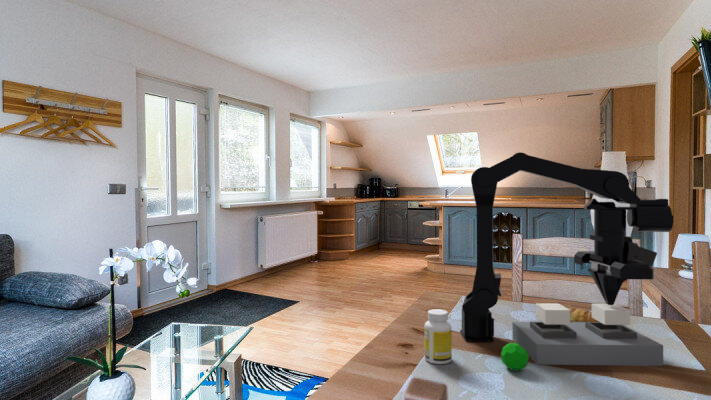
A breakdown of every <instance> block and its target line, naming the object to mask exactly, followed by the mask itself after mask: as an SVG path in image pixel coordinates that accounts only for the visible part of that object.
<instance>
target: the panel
mask: <svg viewBox="0 0 711 400" xmlns="http://www.w3.org/2000/svg"><path fill="white" fill-rule="evenodd" d="M511 326H512V340H513V341H514V343H517V344H519V345H520V346H521V347H523V348H524V349H525V350H527V353H528V355H529V358H530V359H531V360H532V361H533V362H534V363H535V365H537V364H540V365H543V366H544V365H545V366H546V365H549V366H555V365H556V366H560V365H561V366H625V367H626V366H627V367H628V366H630V367H631V366H633V367H634V366H636V367H638V366H639V367H641V366H643V367H649V366H651V367H664V345H663V344H661V343H659V342H658V341H655V340H654V339H652V338H650V337H648V336H646V335H644V334H642V333H640V332H638V331H636V330H634V329H633V328H630V327H629V326H628V325H604V324H603V323H601V322H570V325H560V324H544V323H543V322H541V321H512V325H511Z"/></svg>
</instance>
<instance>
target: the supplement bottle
mask: <svg viewBox="0 0 711 400" xmlns="http://www.w3.org/2000/svg"><path fill="white" fill-rule="evenodd" d="M427 319H428V320H427V321H425V323H424V327H423V328H424V359H425V360H426V362H429V363H431V364H435V365H445V364H449V363H450V362H451V361H452V357H453V355H452V354H453V353H452V351H453V350H452V346H453V343H452V335H453V334H452V325H451V323H450V322H449V321H448V319H449V313H448V311H447V310H445V309H439V308H435V309H433V308H432V309H429V310H428V311H427Z"/></svg>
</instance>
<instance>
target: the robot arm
mask: <svg viewBox="0 0 711 400" xmlns="http://www.w3.org/2000/svg"><path fill="white" fill-rule="evenodd" d="M518 172H523V173H528V174H531V175H535V176H539V177H542V178H545V179H546V178H547V179H550V180H554V181H557V182H561V183H565V184H569V185H573V186H574V187H577V188H579V189H581V190H583V191H585V192H587V193H590V194H591V195H594V196H596V197H598V198H600V199H607V200H613V201H598V200H597V199H596V198H594V197H592V198H591V199H590V200H589V201H588V203H586V204H585V205H583V209H585V210H589V211H591V210H593V218H594V219H593V220H594V221H593V229H594V230H593V233H594V234H589V240H592V241H593V243H594V244H593V248H594V249H593V250H594V251H593V250H590V251H586V250H585V251H584V250H583V251H582V250H579V251H577V252H576V253H575V254H574V255H573V258H574V259H573V260H574V261H573V262H574V264H576V265H579V266H583V264H590V268H587V272H589V274H590V276H591V277H592V279H593V281H594V283H595V285H596V286H597V287H596V288H598V290H599V292H600V294H601V296H602V298H603V300H604V302H605V304H608V305H614V304H615V302H616V300H617V297H618V295H619V291H620V289H621V287H622V285H623V284H624V282H625V281H627V280H654V279H655V269H654V268H653V266H654V263H655V261H656V257H657V255H658V252H656V251H653V250H650V249H647V248H644V247H641V246H639V244H638V243H637V242H633V238H632V237H631V236H628V235H627V225H628V227H632V229H633V230H634V232H639V233H640V232H643V233H646V232H647V233H649V232H650V233H670V232H671V231H672V229H673V227H674V215H673V212H672V208H671V206H670V205H669V199H668V198H655V199H641V198H640V197H639V196H638V195H637V193H636V192H634V190H633V189H632V188H631V187H630V180H629V179H628V177H627V175H626V174H624V173H623V172H620V171H617V170H606V169H595V168H594V169H592V168H590V169H588V168H580V167H576V166H573V165H569V164H566V163H565V164H564V163H560V162H557V161H552V160H549V159H544V158H541V157H537V156H532V155H528V154H527V153H525V152H520V151H519V152H515V153H514V154H513V155H512V156H510V157H508V158H506V159H503V160H502V161H500V162H498V163H495V164H494V165H492V166H490V167H489V166H482V167H478V168H477V169H475V170H474V171H473V172H472V174H471V176H470V183H471V188H472V192H473V197H474V198H473V199H474V203H475V207H476V269H475V274H474V279H473V285H472V291H470V292H469V293H468V294H467V295H466V296H465V297H464V300H463V302H462V305H461V329H460V330H459V333H460V335H461V336H462V337H463V339H464V341H465V342H494V341H495V338H494V336H495V319H494V318H493V315H492V313H493V312H491V310H490V309H491V308H493V307H494V306H496V304H497V303H498V299H499V297H502V288H501V282H502V273H501V272H498V273H496V271H495V267H494V203H495V199H496V191H497V188H498V183H499V182H501V181H503V180H505V179H507V178H509V177H511V176H513V175H515V174H516V173H518ZM615 202H616V203H618V204H626V205H627V204H628V205H629V206H616V203H615Z"/></svg>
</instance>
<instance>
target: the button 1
mask: <svg viewBox="0 0 711 400" xmlns="http://www.w3.org/2000/svg"><path fill="white" fill-rule="evenodd" d="M535 318H536V319H538V321H539V322H543V323H544V324H560V325H570V310H569V308H567V307H565V306H563V305H562V304H560V303H535Z"/></svg>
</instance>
